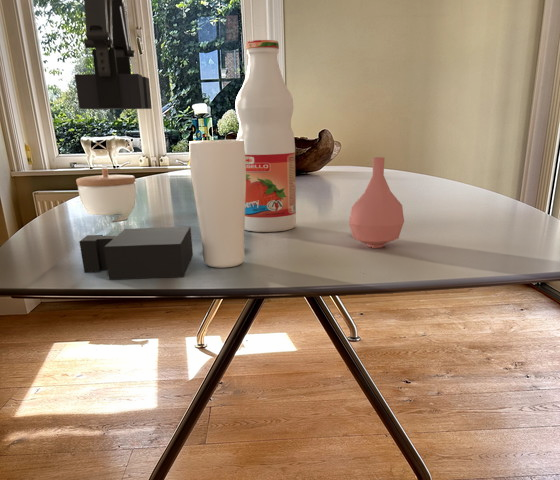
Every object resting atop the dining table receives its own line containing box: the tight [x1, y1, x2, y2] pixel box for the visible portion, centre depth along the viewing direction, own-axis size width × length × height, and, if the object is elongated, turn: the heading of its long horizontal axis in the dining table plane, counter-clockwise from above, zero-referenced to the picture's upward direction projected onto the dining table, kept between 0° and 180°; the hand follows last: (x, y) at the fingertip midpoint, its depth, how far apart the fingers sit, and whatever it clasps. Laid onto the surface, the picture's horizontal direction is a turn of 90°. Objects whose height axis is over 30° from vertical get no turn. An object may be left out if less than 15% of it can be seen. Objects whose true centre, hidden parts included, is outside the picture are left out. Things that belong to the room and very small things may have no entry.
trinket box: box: [75, 167, 137, 223], centre depth 113 cm, size 11×11×9 cm
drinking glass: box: [188, 139, 246, 269], centre depth 75 cm, size 7×7×15 cm
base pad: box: [78, 226, 194, 281], centre depth 77 cm, size 13×12×4 cm
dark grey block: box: [74, 73, 152, 111], centre depth 81 cm, size 8×10×4 cm
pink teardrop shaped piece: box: [348, 156, 405, 249], centre depth 83 cm, size 8×8×12 cm
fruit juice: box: [235, 39, 297, 233], centre depth 96 cm, size 9×9×28 cm
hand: (117, 107), depth 82 cm, fingers closed on dark grey block, 10 cm apart
